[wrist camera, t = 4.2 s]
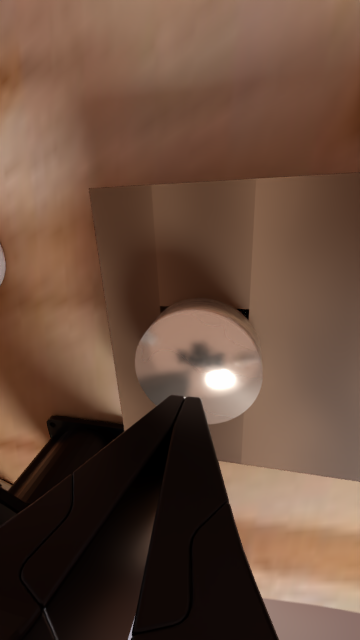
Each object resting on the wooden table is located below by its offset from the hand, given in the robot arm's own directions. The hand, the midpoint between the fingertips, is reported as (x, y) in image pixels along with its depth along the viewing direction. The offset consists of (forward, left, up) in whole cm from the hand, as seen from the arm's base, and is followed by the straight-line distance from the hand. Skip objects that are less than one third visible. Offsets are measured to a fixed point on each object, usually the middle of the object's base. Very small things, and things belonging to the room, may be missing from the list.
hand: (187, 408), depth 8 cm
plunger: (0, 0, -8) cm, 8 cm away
